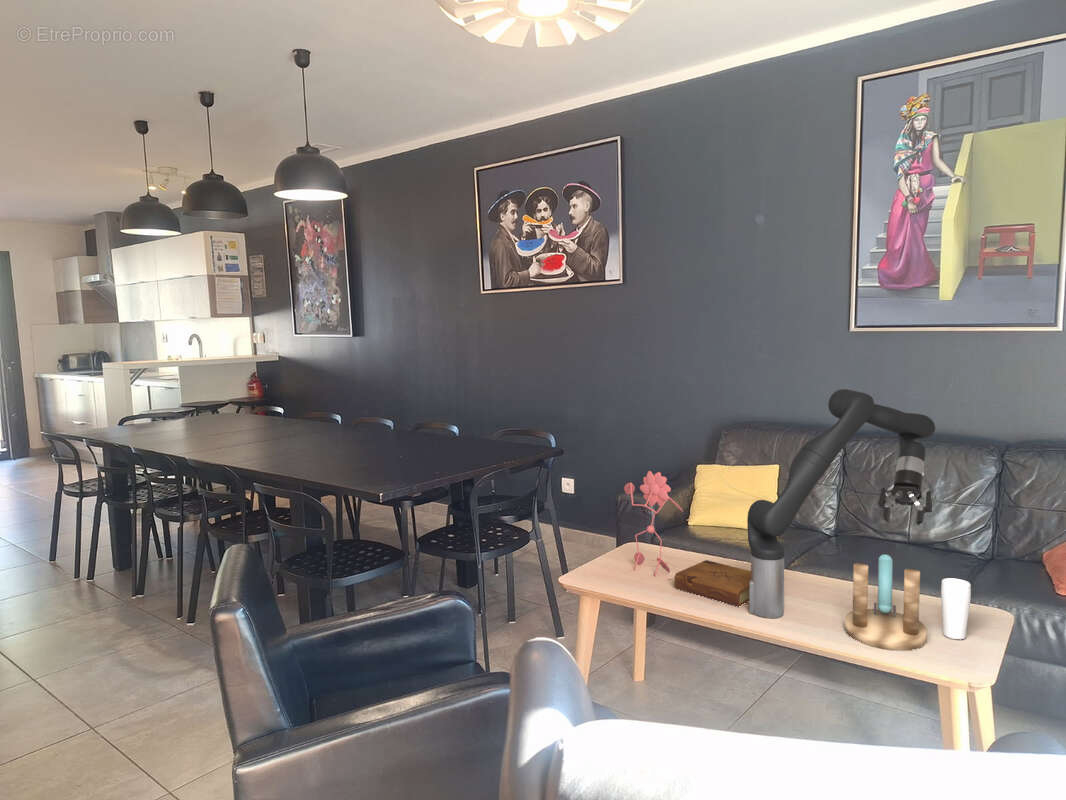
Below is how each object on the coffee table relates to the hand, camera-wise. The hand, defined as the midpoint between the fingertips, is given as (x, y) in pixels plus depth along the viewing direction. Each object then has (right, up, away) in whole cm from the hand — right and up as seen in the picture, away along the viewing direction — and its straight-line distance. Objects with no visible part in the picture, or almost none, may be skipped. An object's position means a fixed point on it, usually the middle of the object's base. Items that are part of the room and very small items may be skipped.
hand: (902, 522), depth 207 cm
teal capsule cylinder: (-12, -23, -14) cm, 30 cm away
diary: (-50, -25, +16) cm, 58 cm away
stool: (-15, -27, -19) cm, 36 cm away
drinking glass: (+2, -27, -22) cm, 35 cm away
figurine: (-67, -23, +38) cm, 80 cm away
